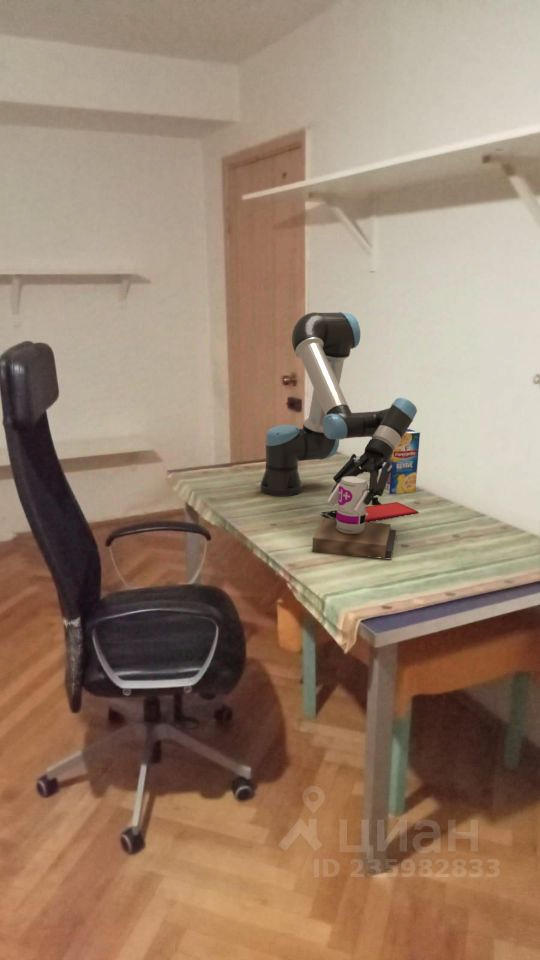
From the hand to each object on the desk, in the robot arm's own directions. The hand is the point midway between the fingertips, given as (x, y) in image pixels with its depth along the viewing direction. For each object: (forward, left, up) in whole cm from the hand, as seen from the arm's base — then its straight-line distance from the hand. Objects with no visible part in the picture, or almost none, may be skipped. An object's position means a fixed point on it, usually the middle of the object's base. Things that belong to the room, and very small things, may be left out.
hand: (343, 508), depth 187 cm
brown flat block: (+3, +3, -11) cm, 12 cm away
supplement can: (+2, +3, -7) cm, 8 cm away
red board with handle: (+4, +33, -12) cm, 35 cm away
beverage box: (+12, +63, -12) cm, 65 cm away
